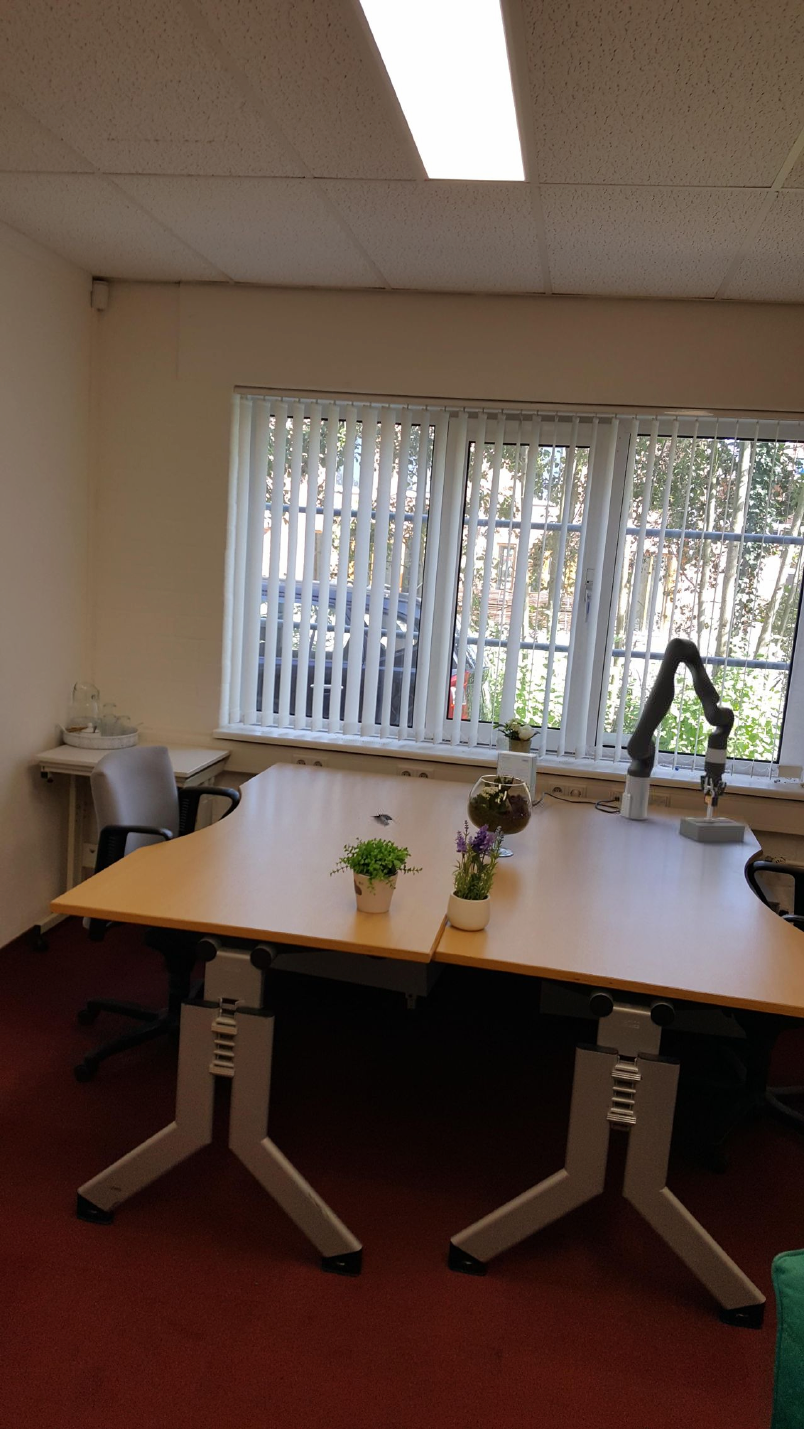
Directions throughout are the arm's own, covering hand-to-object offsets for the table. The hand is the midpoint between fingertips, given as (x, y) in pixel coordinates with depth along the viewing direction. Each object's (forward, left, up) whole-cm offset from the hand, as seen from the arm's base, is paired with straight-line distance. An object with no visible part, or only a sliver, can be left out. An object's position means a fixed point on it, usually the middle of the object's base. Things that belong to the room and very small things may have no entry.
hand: (710, 804), depth 364 cm
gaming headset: (-120, +23, -14) cm, 123 cm away
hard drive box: (-53, +61, -13) cm, 82 cm away
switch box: (+2, 0, -13) cm, 13 cm away
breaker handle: (0, 0, -6) cm, 6 cm away
